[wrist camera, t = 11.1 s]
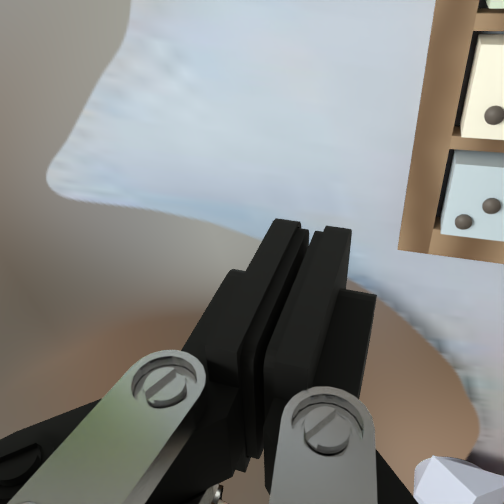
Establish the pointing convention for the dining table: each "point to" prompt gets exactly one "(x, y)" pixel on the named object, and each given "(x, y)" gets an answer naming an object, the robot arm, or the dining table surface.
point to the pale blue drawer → (475, 196)
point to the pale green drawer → (495, 4)
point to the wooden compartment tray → (445, 133)
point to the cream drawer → (485, 91)
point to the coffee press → (218, 496)
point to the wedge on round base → (456, 483)
